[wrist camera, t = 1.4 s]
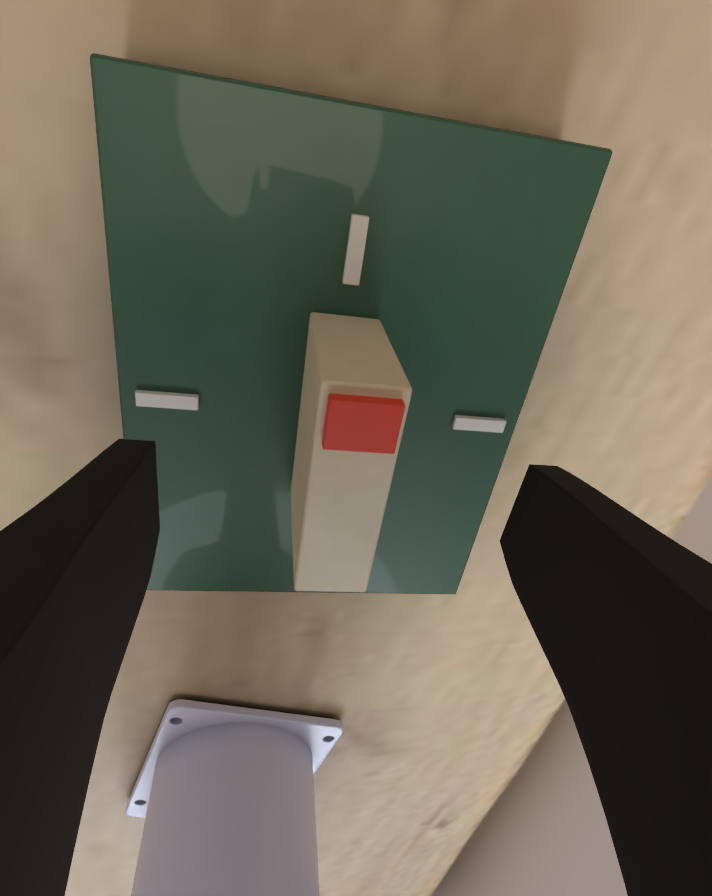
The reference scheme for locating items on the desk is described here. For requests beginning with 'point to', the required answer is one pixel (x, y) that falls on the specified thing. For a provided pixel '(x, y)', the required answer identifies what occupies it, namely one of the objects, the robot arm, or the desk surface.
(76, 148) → the desk surface
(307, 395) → the red topped block
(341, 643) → the desk surface
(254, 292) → the console
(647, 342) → the desk surface
